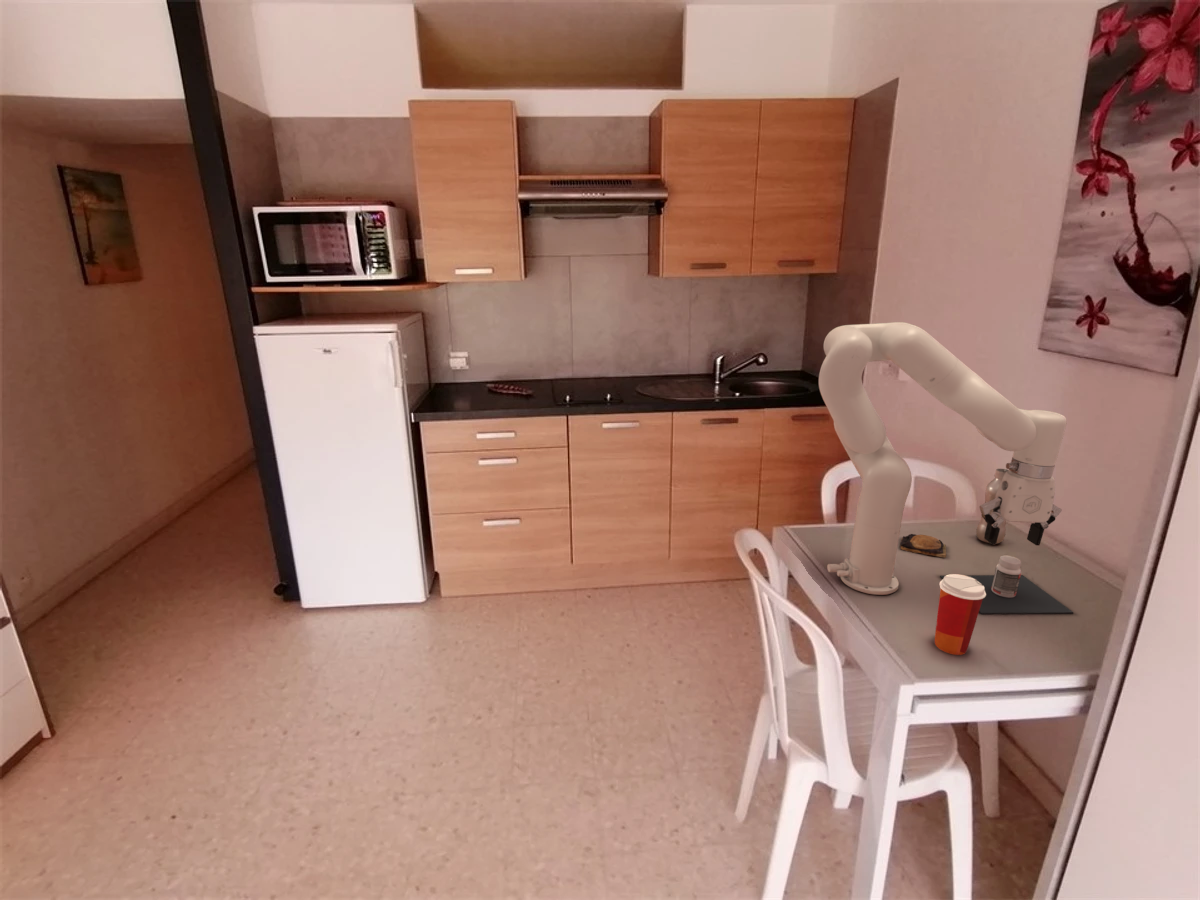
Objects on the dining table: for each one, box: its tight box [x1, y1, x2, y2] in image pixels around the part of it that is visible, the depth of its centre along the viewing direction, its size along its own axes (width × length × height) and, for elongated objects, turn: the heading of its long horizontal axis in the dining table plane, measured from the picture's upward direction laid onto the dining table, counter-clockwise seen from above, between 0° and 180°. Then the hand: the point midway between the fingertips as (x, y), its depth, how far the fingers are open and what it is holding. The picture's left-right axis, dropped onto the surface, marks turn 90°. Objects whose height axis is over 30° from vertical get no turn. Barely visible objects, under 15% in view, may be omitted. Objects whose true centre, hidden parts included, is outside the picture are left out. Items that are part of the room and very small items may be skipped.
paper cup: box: [934, 573, 986, 656], centre depth 117 cm, size 8×8×14 cm
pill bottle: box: [991, 554, 1022, 598], centre depth 137 cm, size 5×5×8 cm
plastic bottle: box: [975, 468, 1009, 544], centre depth 161 cm, size 6×7×20 cm
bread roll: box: [900, 533, 947, 559], centre depth 159 cm, size 11×8×4 cm
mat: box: [939, 574, 1074, 615], centre depth 138 cm, size 20×16×1 cm
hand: (1011, 542), depth 134 cm, fingers open, 9 cm apart
